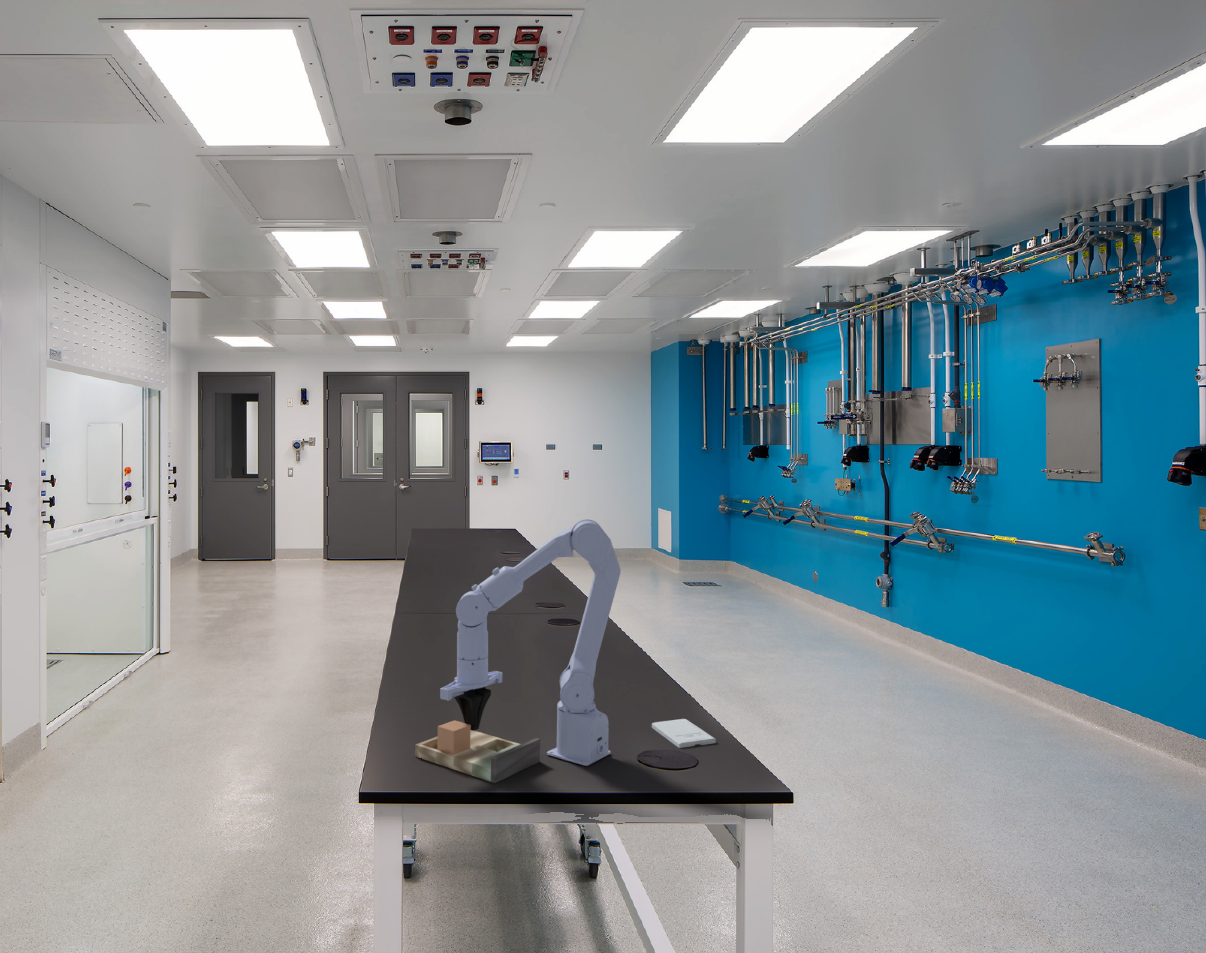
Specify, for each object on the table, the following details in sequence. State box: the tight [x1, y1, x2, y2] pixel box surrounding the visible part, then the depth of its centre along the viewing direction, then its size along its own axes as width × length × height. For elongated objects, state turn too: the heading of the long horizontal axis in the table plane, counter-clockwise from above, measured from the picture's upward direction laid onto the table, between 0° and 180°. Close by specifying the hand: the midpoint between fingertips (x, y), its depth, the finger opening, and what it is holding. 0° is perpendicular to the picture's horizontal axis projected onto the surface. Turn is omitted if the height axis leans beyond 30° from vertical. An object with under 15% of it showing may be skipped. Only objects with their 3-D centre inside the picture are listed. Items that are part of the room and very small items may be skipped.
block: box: [437, 720, 471, 754], centre depth 142 cm, size 4×4×4 cm
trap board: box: [414, 730, 541, 784], centre depth 143 cm, size 20×12×4 cm, turn 55°
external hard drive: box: [651, 718, 717, 749], centre depth 158 cm, size 2×8×12 cm
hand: (472, 728), depth 145 cm, fingers closed
